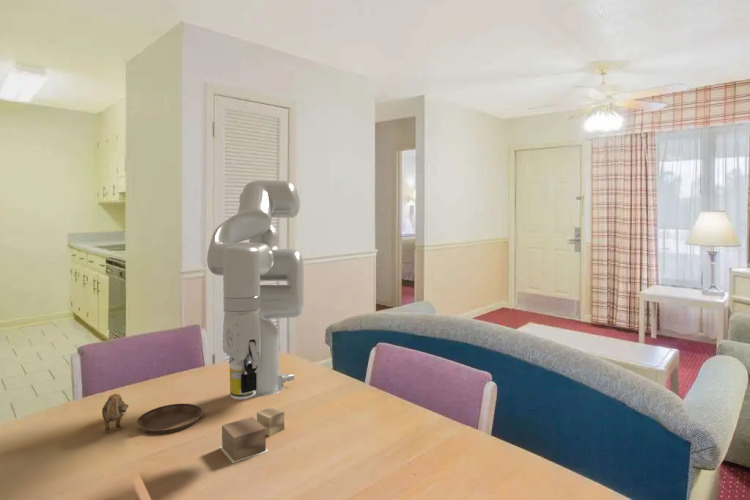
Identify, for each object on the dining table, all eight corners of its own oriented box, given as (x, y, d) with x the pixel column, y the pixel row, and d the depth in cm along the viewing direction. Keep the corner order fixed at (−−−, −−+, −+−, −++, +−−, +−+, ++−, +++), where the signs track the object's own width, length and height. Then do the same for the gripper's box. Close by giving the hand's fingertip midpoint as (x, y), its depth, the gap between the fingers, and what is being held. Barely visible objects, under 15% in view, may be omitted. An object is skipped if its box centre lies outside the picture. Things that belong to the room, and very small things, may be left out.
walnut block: (252, 437, 105) (252, 416, 104) (265, 450, 99) (265, 428, 99) (222, 447, 101) (221, 425, 100) (234, 461, 95) (233, 438, 95)
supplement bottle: (240, 388, 102) (239, 345, 102) (261, 392, 101) (260, 348, 100) (224, 397, 97) (224, 352, 96) (246, 401, 95) (245, 355, 95)
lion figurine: (130, 434, 108) (129, 397, 108) (104, 440, 105) (102, 402, 105) (123, 411, 120) (121, 378, 120) (99, 416, 117) (98, 382, 117)
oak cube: (271, 424, 112) (271, 406, 112) (284, 429, 109) (284, 411, 109) (257, 430, 108) (256, 412, 108) (269, 436, 106) (269, 417, 105)
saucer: (122, 434, 109) (122, 423, 109) (170, 409, 123) (169, 399, 123) (171, 445, 104) (171, 434, 104) (215, 418, 118) (215, 408, 117)
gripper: (210, 299, 102) (212, 379, 103) (240, 313, 88) (241, 404, 90) (243, 296, 106) (244, 372, 108) (276, 308, 93) (276, 395, 94)
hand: (243, 385), depth 99 cm, fingers closed on supplement bottle, 5 cm apart
